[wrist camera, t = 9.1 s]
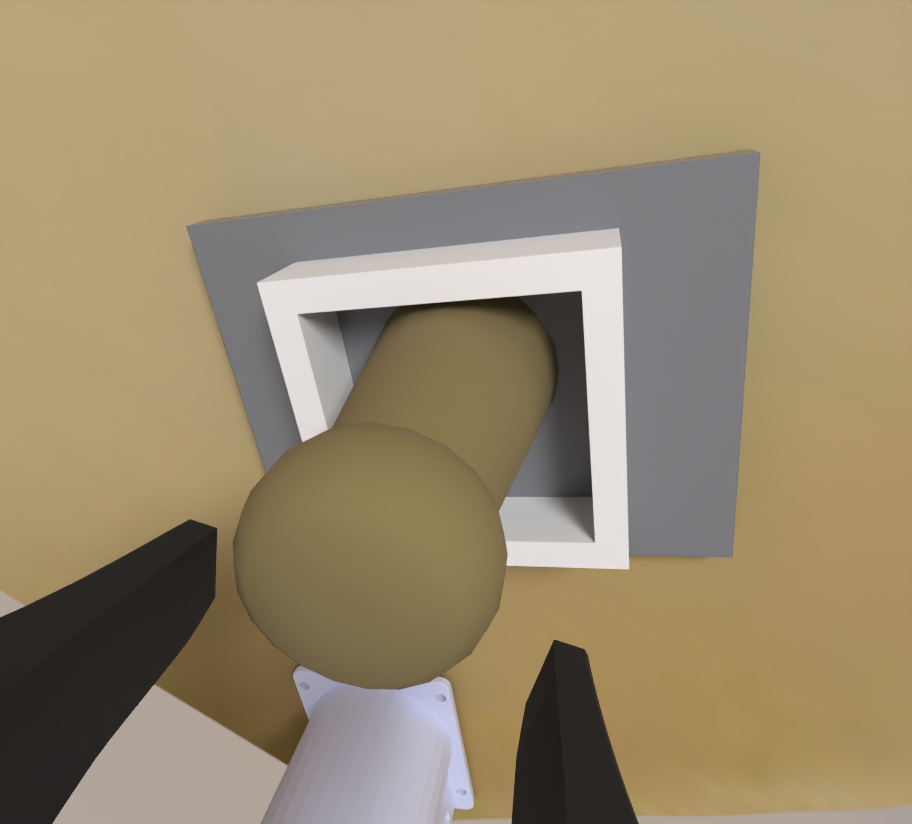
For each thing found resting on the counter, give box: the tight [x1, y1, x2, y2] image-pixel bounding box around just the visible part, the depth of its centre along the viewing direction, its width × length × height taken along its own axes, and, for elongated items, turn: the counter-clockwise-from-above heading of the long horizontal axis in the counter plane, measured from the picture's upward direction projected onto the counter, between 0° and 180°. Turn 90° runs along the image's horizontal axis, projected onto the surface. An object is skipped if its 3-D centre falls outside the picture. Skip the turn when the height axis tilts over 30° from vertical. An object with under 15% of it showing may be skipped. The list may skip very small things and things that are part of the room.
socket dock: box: [186, 150, 760, 569], centre depth 20 cm, size 13×17×4 cm
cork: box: [233, 296, 559, 690], centre depth 15 cm, size 6×6×11 cm
